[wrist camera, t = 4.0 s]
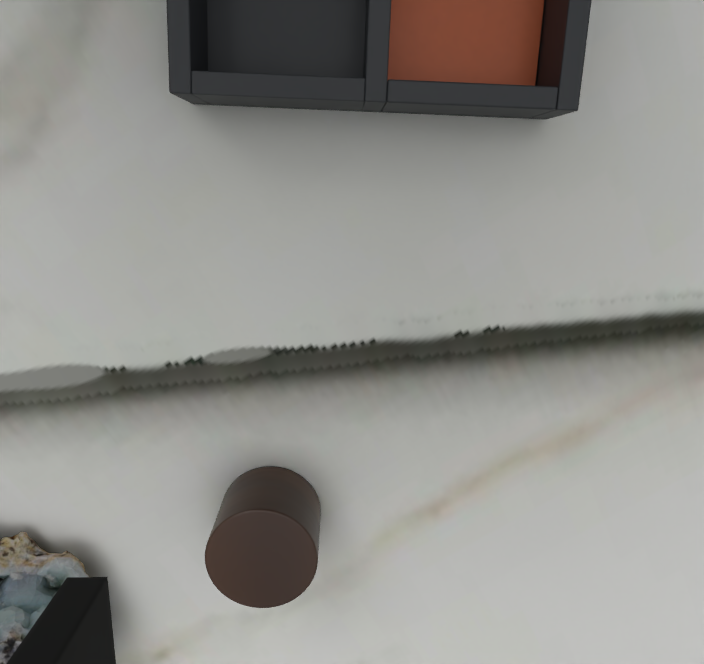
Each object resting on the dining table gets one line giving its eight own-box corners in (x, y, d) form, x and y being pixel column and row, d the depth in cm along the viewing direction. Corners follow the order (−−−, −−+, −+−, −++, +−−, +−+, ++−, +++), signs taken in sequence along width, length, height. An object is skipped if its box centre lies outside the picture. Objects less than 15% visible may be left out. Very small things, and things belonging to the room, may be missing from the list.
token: (222, 552, 31) (205, 607, 27) (221, 464, 29) (203, 508, 25) (319, 555, 31) (316, 610, 27) (322, 467, 29) (319, 511, 26)
